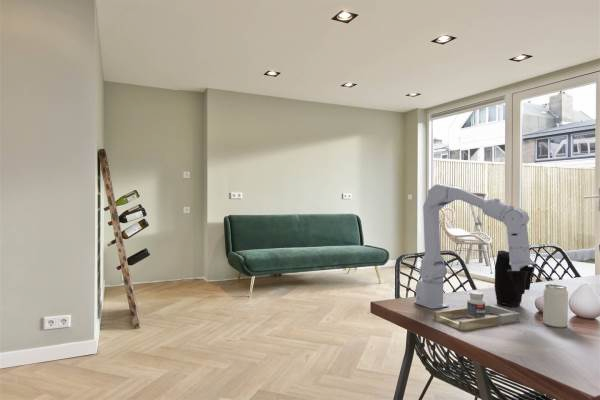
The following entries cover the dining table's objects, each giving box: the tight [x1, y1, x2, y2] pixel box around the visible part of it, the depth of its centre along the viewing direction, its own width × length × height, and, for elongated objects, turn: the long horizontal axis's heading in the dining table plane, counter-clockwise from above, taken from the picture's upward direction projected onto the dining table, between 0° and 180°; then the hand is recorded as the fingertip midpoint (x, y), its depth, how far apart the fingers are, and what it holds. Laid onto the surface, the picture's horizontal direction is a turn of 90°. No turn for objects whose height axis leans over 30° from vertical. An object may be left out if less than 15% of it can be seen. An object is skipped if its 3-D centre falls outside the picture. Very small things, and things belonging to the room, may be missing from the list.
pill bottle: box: [466, 290, 486, 320], centre depth 130 cm, size 5×5×9 cm
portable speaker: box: [494, 250, 523, 309], centre depth 150 cm, size 9×9×20 cm
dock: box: [485, 303, 520, 325], centre depth 134 cm, size 12×8×2 cm, turn 25°
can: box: [542, 284, 569, 329], centre depth 127 cm, size 6×6×12 cm
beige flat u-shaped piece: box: [433, 306, 500, 331], centre depth 129 cm, size 12×15×2 cm
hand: (523, 291), depth 126 cm, fingers open, 7 cm apart
